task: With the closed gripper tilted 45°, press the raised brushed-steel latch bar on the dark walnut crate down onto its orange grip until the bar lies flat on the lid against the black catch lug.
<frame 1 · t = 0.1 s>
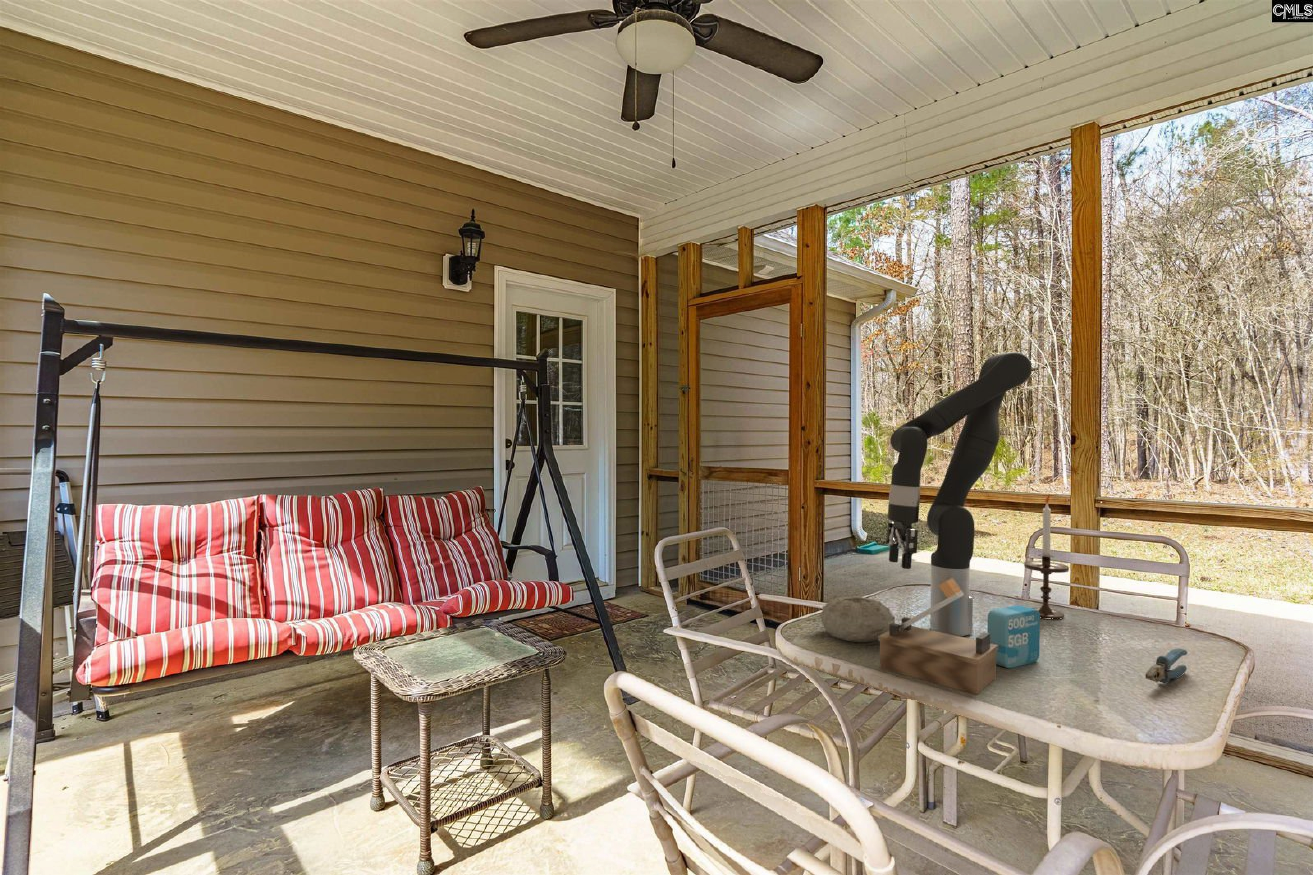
hand: (899, 565, 164), 17 cm above the table, tool pointing down, fingers open, 8 cm apart
grey rounded stone lump: (857, 638, 159), on the table
latch bar: (924, 606, 138), point 14 cm above the table, hinge at 38.0°
walnut crate: (936, 672, 136), on the table
candlestick: (1045, 615, 181), on the table
pliers: (1166, 683, 132), on the table
data package: (1013, 663, 143), on the table
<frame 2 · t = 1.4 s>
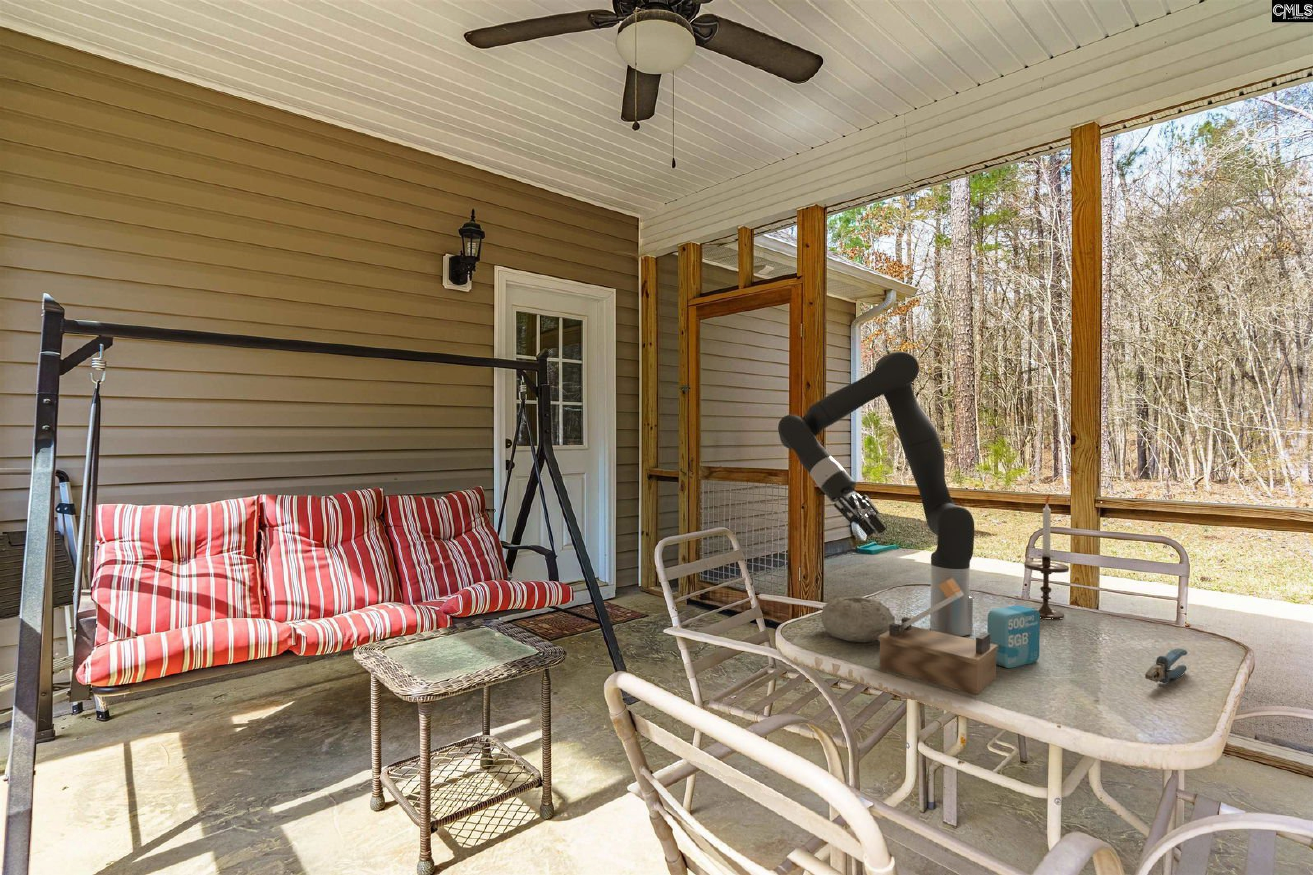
hand: (877, 532, 149), 28 cm above the table, tool tilted 45°, fingers open, 5 cm apart
nothing on the table moved.
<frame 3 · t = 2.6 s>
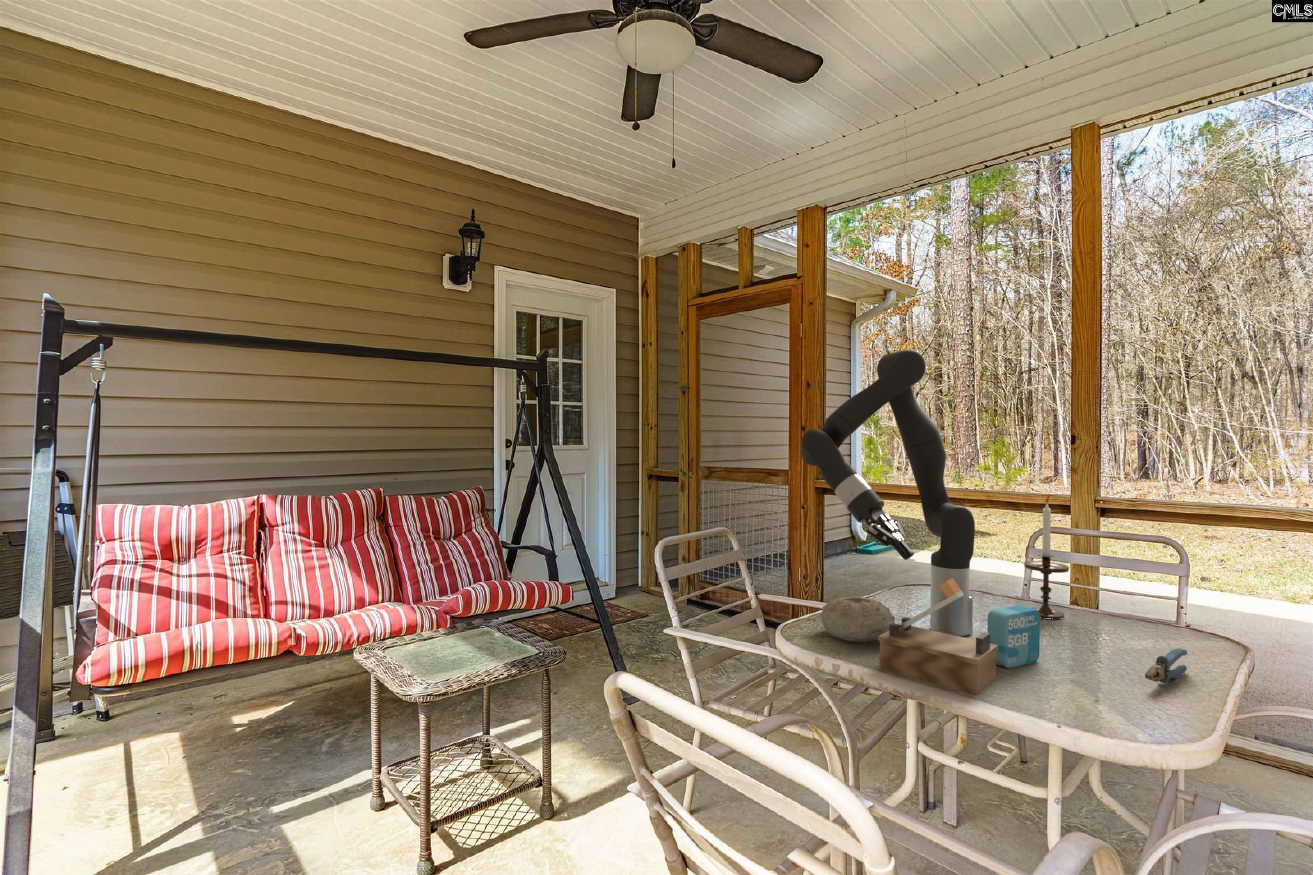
hand: (909, 557, 140), 24 cm above the table, tool tilted 45°, fingers closed
nothing on the table moved.
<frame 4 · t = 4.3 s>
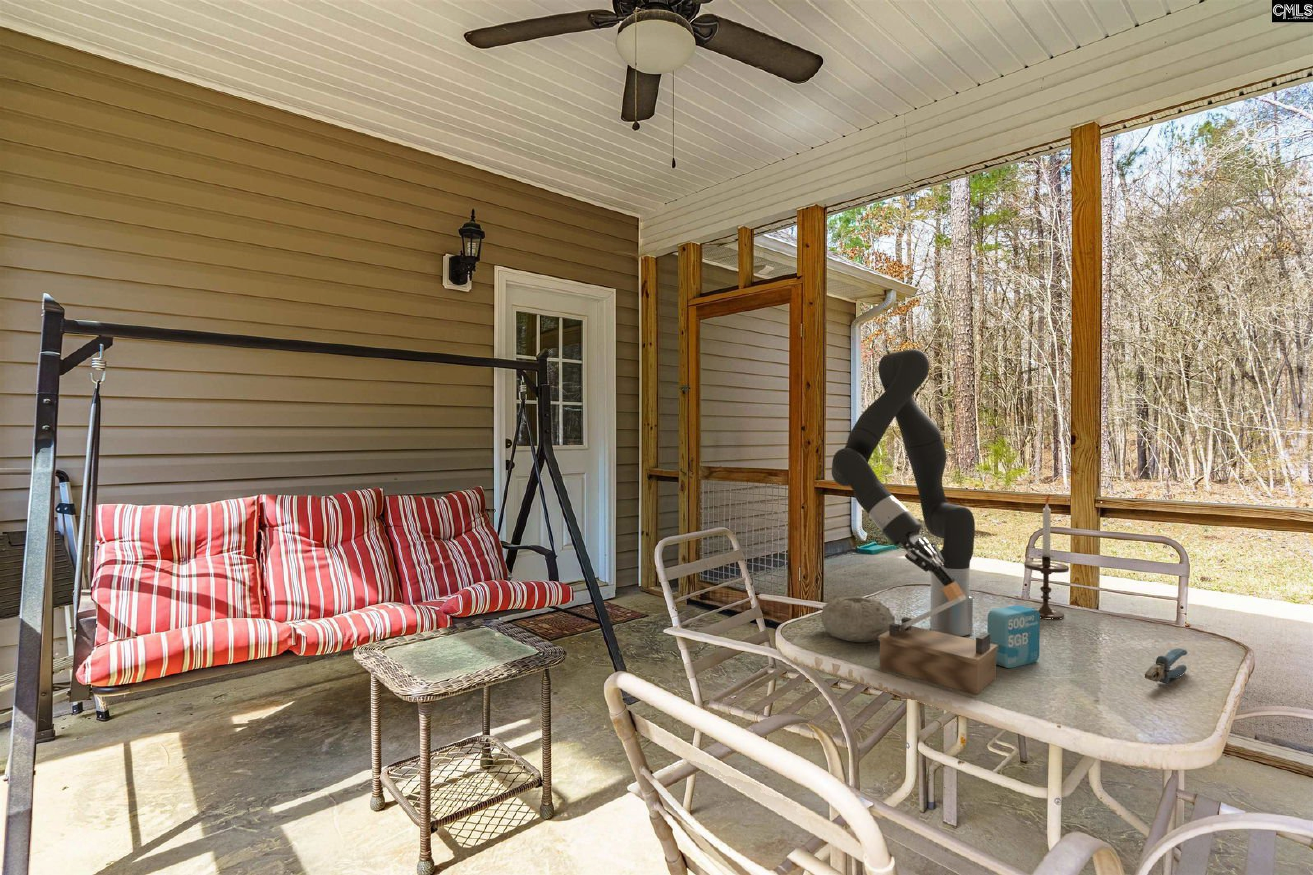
hand: (950, 583, 134), 20 cm above the table, tool tilted 45°, fingers closed
latch bar: (925, 608, 138), point 14 cm above the table, hinge at 34.9°, touching gripper
everything else where it was.
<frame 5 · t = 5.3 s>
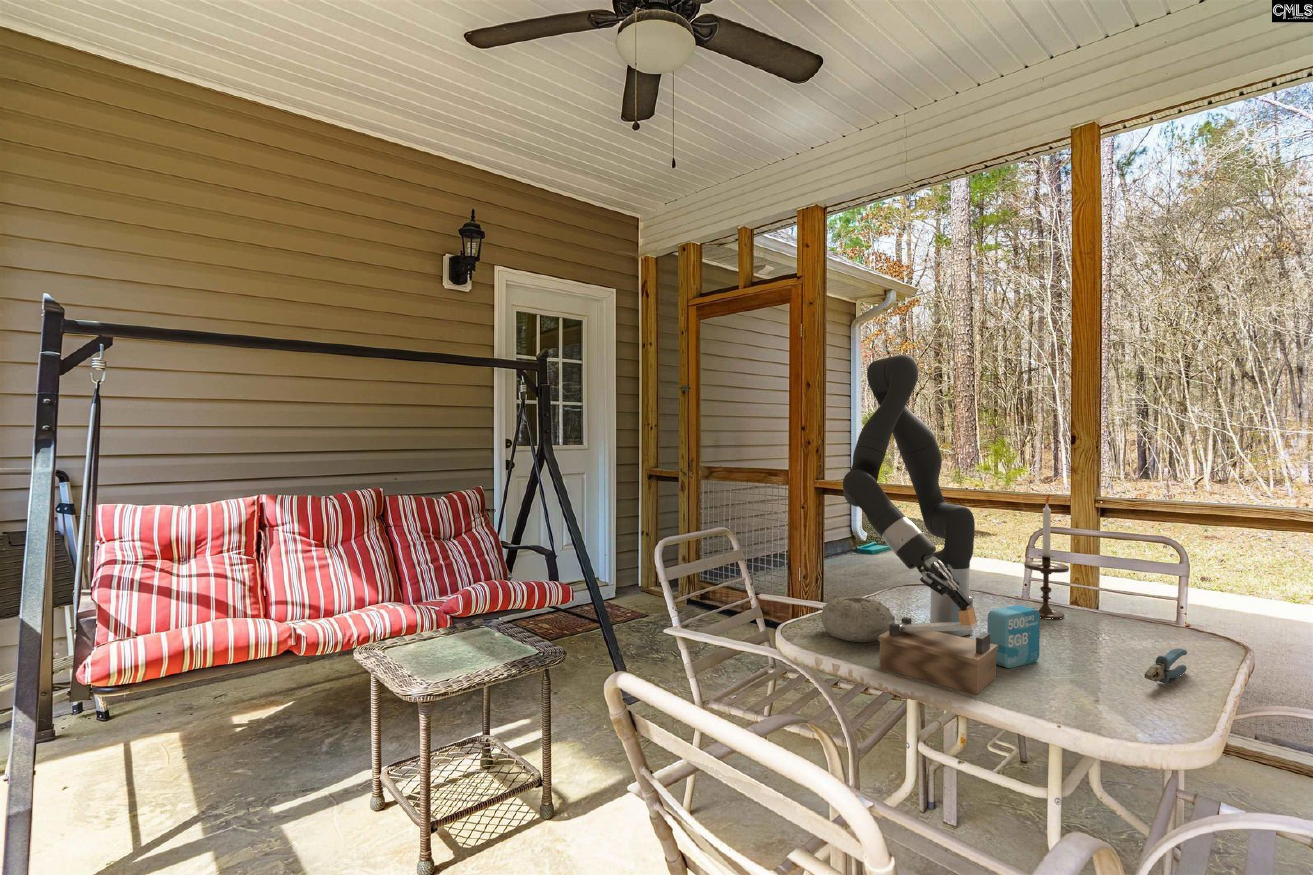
hand: (967, 607, 132), 15 cm above the table, tool tilted 45°, fingers closed
latch bar: (933, 620, 137), point 11 cm above the table, hinge at 13.7°, touching gripper
everything else where it was.
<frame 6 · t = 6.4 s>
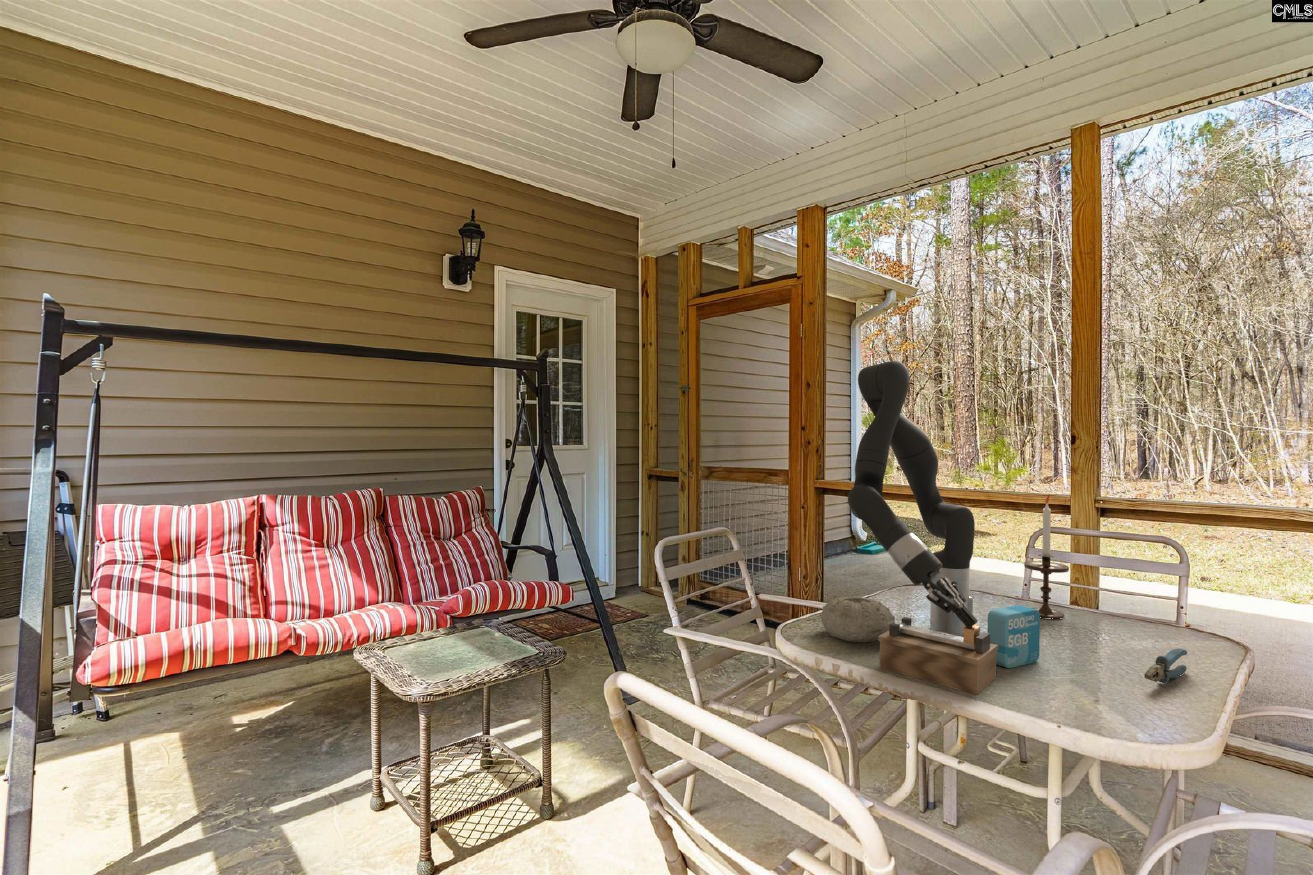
hand: (973, 625, 131), 12 cm above the table, tool tilted 45°, fingers closed
latch bar: (935, 629, 136), point 9 cm above the table, hinge at -0.4°, touching gripper
everything else where it was.
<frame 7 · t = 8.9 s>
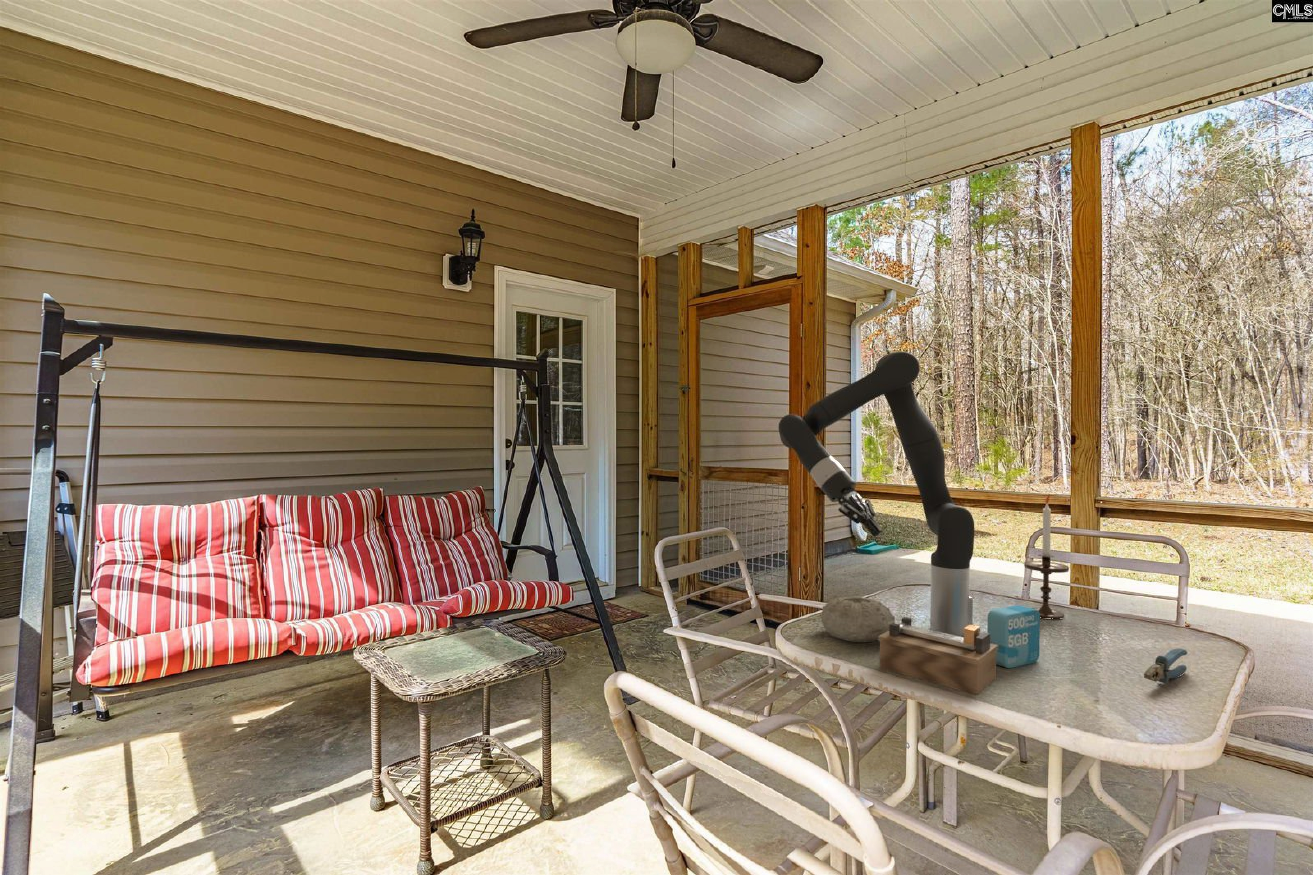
hand: (878, 534, 149), 28 cm above the table, tool tilted 45°, fingers closed
latch bar: (935, 629, 136), point 9 cm above the table, hinge at -0.6°
everything else where it was.
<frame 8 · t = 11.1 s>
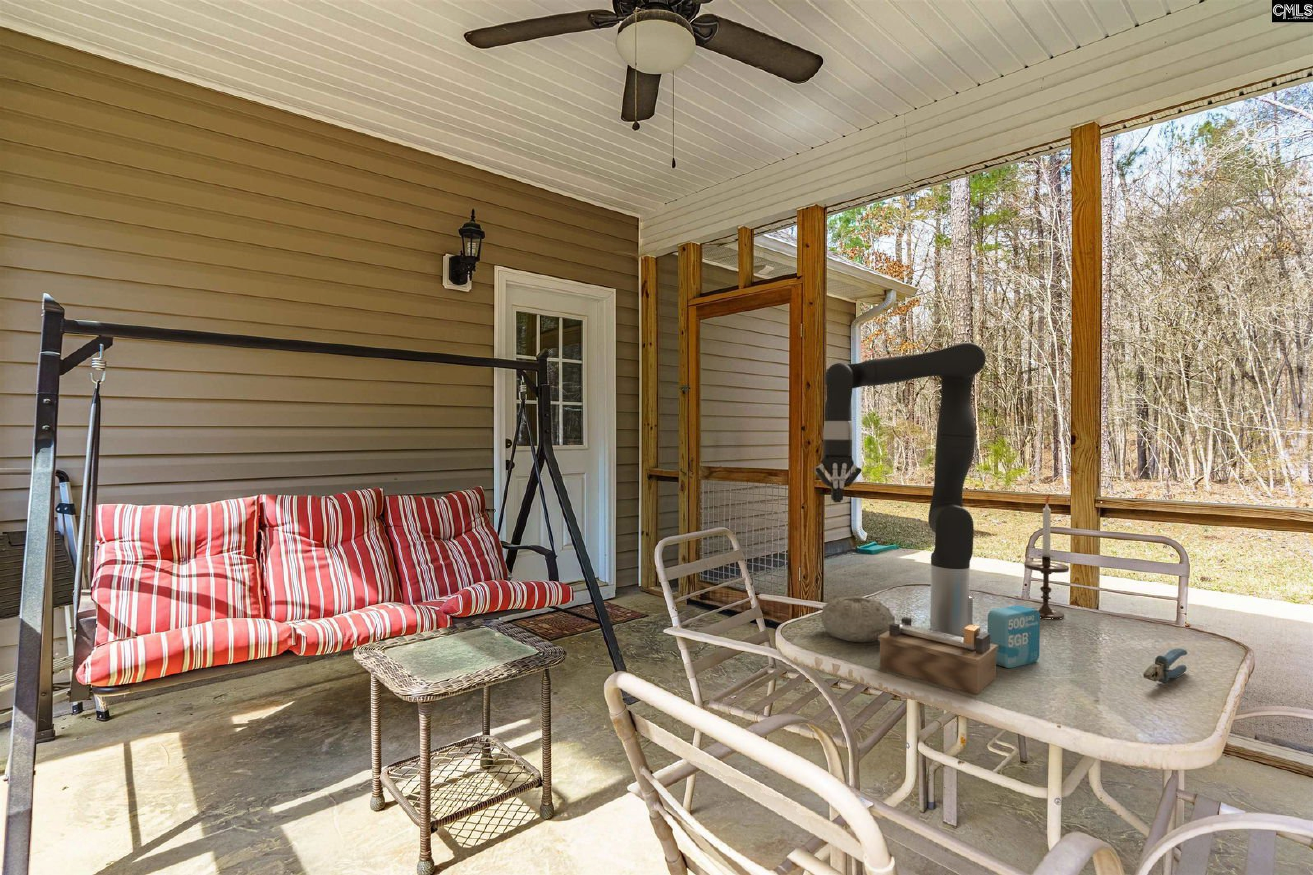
hand: (837, 502, 170), 33 cm above the table, tool pointing down, fingers closed
nothing on the table moved.
at the end: latch bar at -1° (first picture: +38°) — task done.
